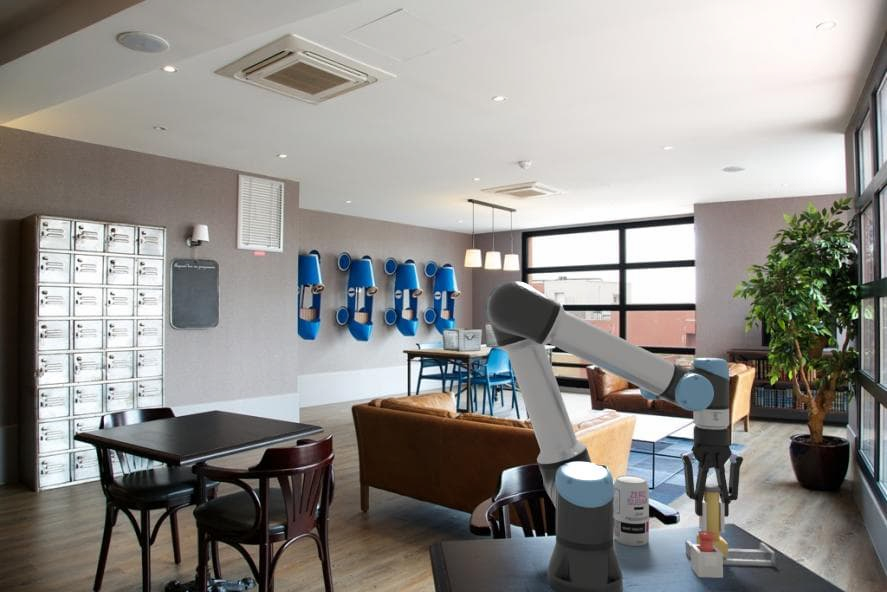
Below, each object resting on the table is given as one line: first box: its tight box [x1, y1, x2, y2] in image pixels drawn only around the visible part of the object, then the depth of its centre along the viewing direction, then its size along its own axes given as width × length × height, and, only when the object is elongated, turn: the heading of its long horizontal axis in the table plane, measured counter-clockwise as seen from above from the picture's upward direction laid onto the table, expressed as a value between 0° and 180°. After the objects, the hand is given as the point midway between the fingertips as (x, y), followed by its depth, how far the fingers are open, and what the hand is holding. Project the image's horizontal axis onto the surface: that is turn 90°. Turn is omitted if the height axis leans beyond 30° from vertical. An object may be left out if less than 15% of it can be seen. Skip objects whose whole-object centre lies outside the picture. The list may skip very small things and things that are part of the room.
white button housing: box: [690, 543, 724, 579], centre depth 134 cm, size 5×5×5 cm
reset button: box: [697, 530, 715, 552], centre depth 134 cm, size 3×3×5 cm
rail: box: [685, 540, 776, 567], centre depth 141 cm, size 17×6×3 cm, turn 86°
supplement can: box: [613, 474, 650, 547], centre depth 152 cm, size 8×8×15 cm
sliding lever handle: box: [696, 483, 729, 557], centre depth 141 cm, size 5×6×15 cm
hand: (711, 530), depth 141 cm, fingers closed on sliding lever handle, 3 cm apart
